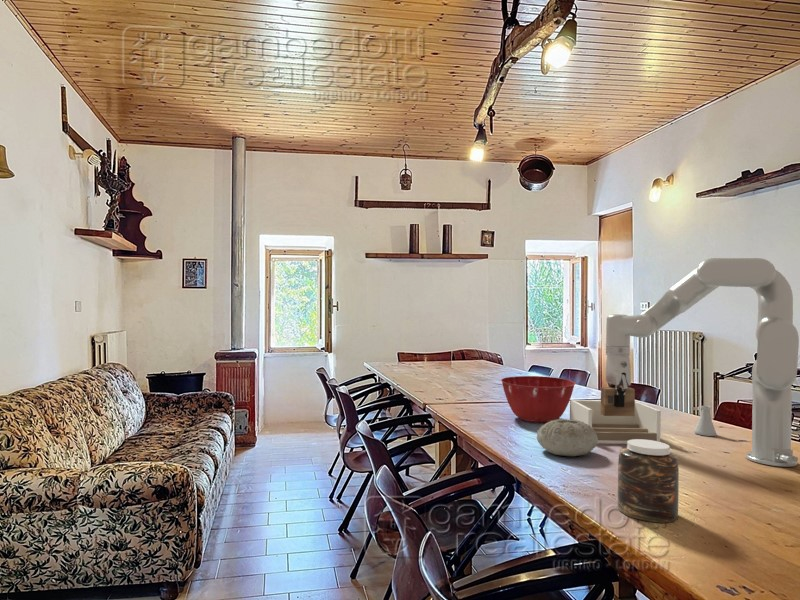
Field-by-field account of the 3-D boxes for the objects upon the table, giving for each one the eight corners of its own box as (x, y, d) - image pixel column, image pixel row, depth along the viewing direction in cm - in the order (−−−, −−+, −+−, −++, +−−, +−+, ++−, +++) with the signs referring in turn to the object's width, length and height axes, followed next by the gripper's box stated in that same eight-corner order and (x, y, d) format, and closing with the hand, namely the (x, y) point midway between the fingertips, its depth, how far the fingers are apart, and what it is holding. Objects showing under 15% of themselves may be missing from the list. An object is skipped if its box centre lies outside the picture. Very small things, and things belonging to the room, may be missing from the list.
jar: (659, 502, 123) (660, 437, 123) (688, 523, 111) (690, 451, 111) (609, 502, 122) (610, 436, 123) (633, 523, 111) (634, 450, 111)
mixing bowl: (542, 431, 192) (543, 388, 192) (485, 416, 215) (486, 378, 215) (589, 422, 209) (590, 382, 209) (531, 409, 232) (532, 374, 232)
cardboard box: (635, 416, 178) (635, 389, 178) (605, 416, 178) (605, 389, 178) (629, 414, 182) (630, 387, 182) (600, 413, 182) (600, 387, 182)
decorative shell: (525, 447, 170) (526, 415, 170) (573, 443, 175) (574, 413, 175) (558, 463, 153) (559, 428, 153) (610, 459, 158) (611, 425, 158)
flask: (710, 432, 195) (711, 405, 195) (721, 437, 188) (721, 408, 188) (690, 431, 196) (690, 404, 196) (699, 436, 189) (700, 408, 189)
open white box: (660, 444, 176) (660, 410, 177) (588, 443, 176) (588, 409, 176) (635, 431, 194) (635, 401, 195) (569, 430, 194) (570, 399, 194)
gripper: (640, 353, 172) (638, 410, 172) (618, 349, 189) (617, 401, 188) (617, 353, 172) (615, 410, 172) (597, 348, 188) (595, 400, 188)
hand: (616, 405), depth 180 cm, fingers closed on cardboard box, 3 cm apart
